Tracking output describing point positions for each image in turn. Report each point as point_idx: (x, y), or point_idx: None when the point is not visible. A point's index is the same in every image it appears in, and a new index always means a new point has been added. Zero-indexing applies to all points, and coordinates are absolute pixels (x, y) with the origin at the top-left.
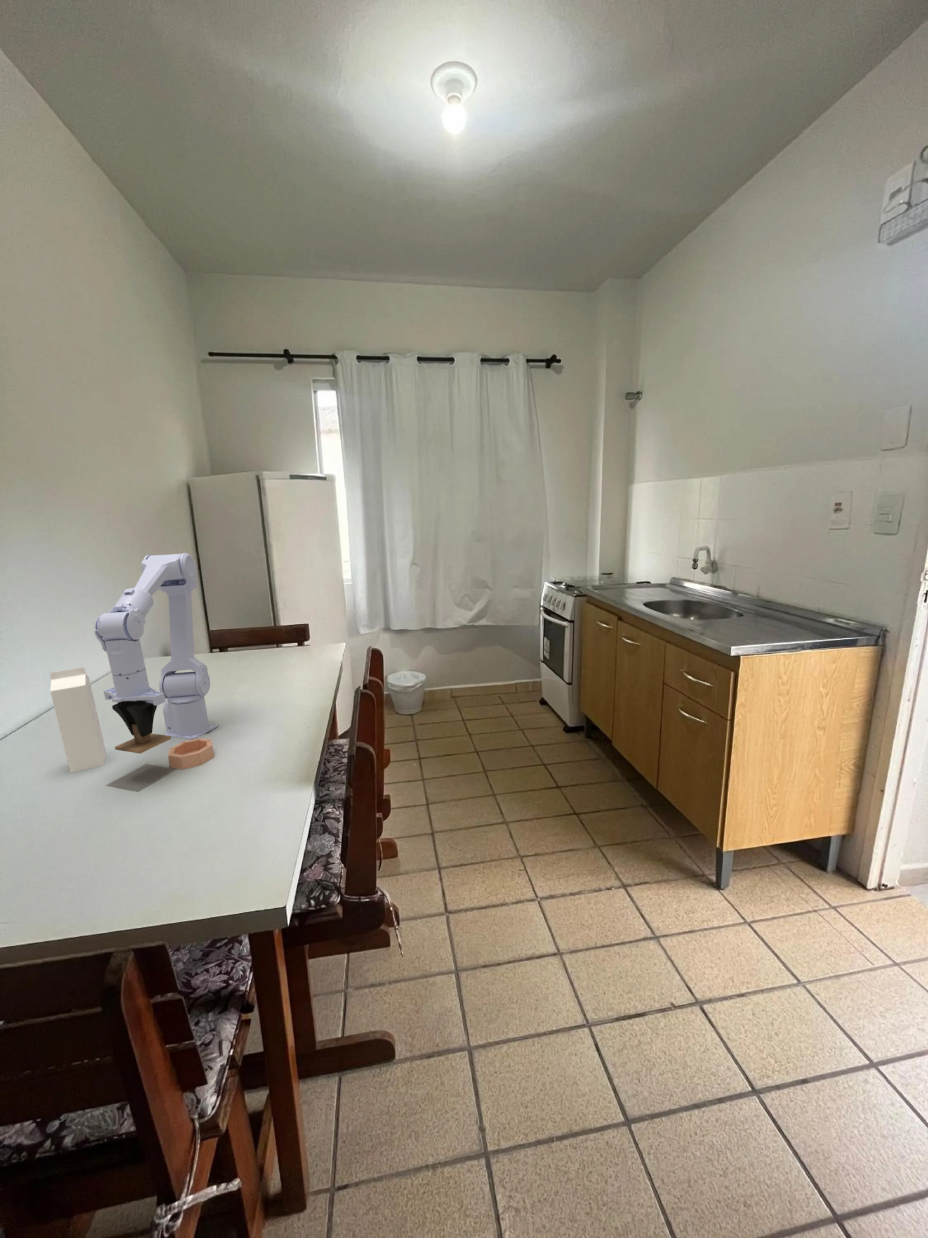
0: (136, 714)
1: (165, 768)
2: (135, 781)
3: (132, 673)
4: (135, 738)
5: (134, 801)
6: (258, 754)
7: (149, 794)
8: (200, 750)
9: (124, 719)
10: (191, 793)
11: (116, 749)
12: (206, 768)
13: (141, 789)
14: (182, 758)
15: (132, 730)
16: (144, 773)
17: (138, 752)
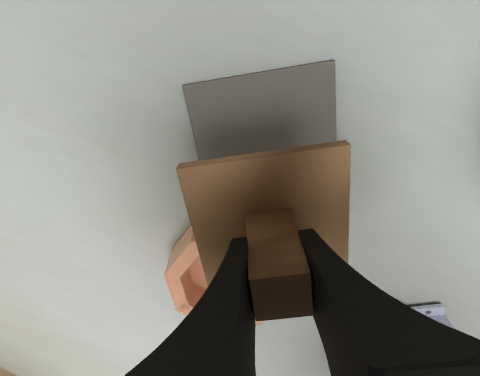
0: (167, 349)
1: None
2: (259, 120)
3: None
4: (286, 221)
5: (140, 48)
6: (100, 325)
7: (142, 96)
8: (176, 285)
9: (349, 285)
10: (36, 153)
11: (337, 142)
12: (146, 246)
13: (187, 99)
14: (188, 242)
15: (302, 246)
16: None
17: (186, 164)
